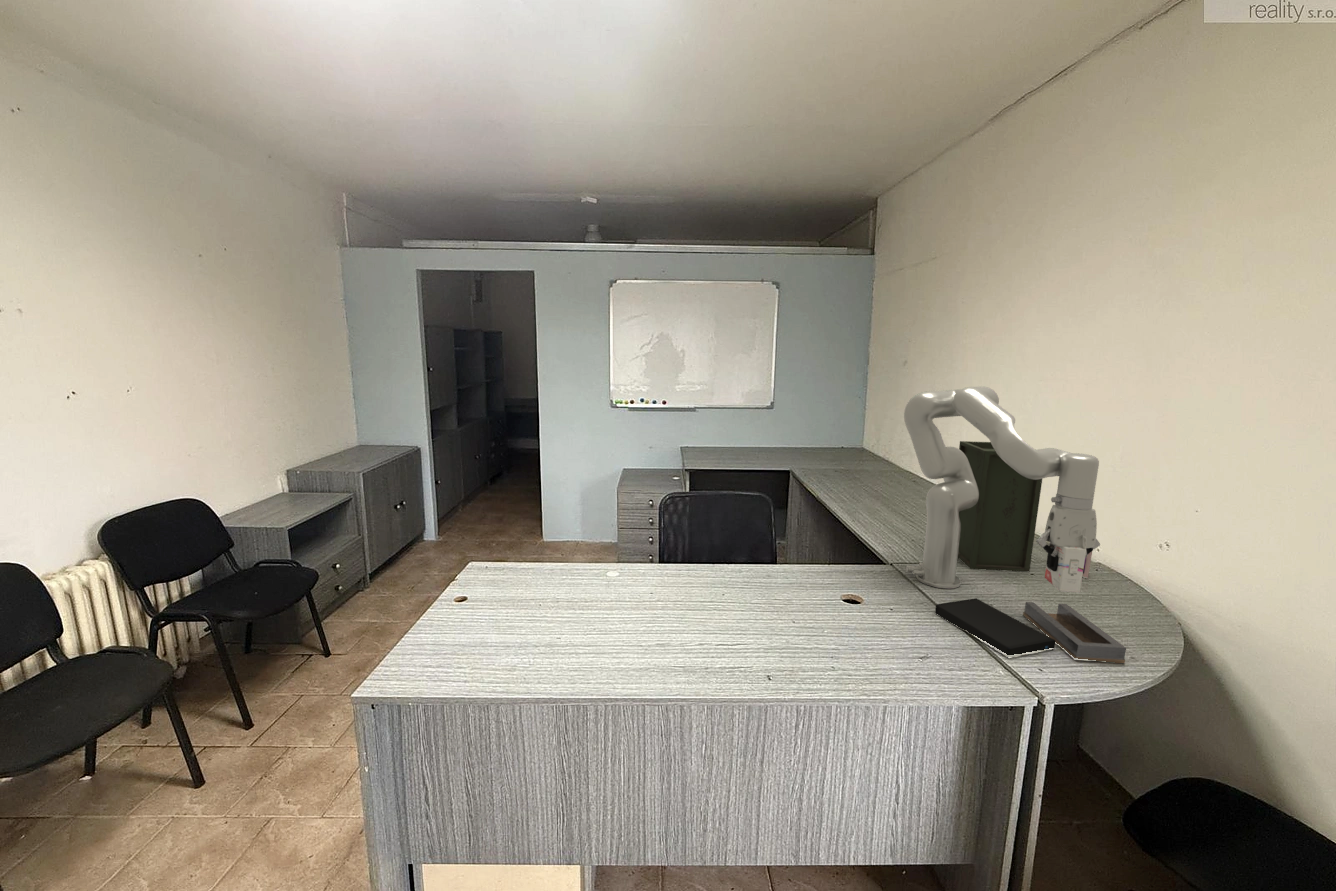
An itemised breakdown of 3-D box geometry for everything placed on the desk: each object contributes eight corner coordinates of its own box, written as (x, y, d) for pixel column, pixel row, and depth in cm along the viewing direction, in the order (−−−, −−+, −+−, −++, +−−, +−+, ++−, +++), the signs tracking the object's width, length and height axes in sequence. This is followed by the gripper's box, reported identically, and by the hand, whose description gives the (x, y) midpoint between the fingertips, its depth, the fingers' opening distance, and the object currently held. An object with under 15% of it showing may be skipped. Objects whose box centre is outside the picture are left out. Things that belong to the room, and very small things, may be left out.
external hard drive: (975, 608, 154) (976, 598, 153) (1054, 651, 132) (1055, 640, 131) (934, 614, 150) (935, 604, 149) (1008, 660, 128) (1010, 648, 127)
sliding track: (1074, 660, 127) (1077, 645, 127) (1022, 615, 149) (1024, 601, 148) (1124, 663, 126) (1127, 648, 126) (1065, 617, 148) (1067, 604, 147)
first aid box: (947, 548, 198) (959, 441, 191) (1000, 551, 197) (1015, 442, 189) (970, 569, 180) (984, 451, 173) (1029, 571, 178) (1046, 452, 171)
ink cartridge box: (1043, 577, 146) (1050, 525, 144) (1063, 579, 145) (1071, 526, 143) (1058, 591, 138) (1067, 536, 135) (1080, 593, 137) (1089, 537, 134)
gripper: (1047, 505, 135) (1037, 574, 138) (1120, 507, 133) (1109, 577, 136) (1030, 497, 142) (1021, 562, 145) (1099, 499, 140) (1089, 565, 144)
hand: (1063, 569), depth 141 cm, fingers closed on ink cartridge box, 5 cm apart
